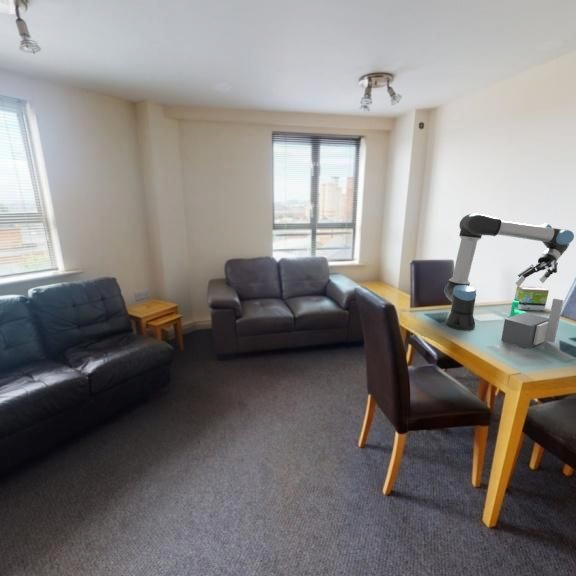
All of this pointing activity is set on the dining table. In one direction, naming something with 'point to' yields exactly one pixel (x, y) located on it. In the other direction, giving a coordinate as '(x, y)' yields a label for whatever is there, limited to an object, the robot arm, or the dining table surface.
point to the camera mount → (514, 305)
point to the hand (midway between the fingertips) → (528, 282)
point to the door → (549, 324)
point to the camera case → (521, 329)
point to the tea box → (531, 297)
